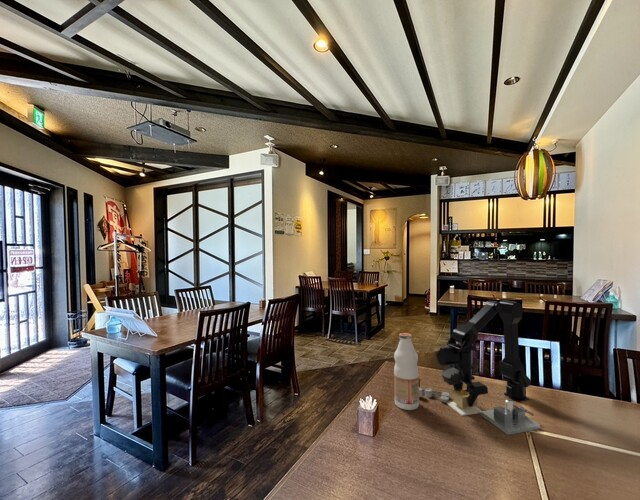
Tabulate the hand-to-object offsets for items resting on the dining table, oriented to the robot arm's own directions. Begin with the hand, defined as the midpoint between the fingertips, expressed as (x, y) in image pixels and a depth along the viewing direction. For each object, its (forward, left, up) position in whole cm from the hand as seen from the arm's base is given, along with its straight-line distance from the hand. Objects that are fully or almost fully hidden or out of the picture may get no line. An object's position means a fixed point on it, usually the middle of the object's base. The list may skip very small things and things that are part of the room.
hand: (464, 402), depth 118 cm
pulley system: (+9, -18, -3) cm, 20 cm away
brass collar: (0, 0, 0) cm, 0 cm away
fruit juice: (+20, -8, -2) cm, 22 cm away
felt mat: (0, 0, -2) cm, 2 cm away
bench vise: (-9, +12, -2) cm, 15 cm away
